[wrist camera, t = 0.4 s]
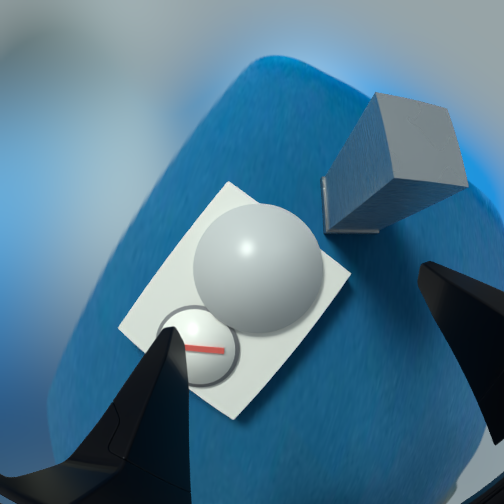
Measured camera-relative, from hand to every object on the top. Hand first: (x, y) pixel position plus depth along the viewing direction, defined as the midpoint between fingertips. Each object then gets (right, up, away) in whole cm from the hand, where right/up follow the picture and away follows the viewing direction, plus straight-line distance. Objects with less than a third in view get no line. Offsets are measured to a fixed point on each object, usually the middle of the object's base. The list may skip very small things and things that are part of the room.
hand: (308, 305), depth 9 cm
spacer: (+6, +6, +14) cm, 17 cm away
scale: (-4, -2, +14) cm, 14 cm away
